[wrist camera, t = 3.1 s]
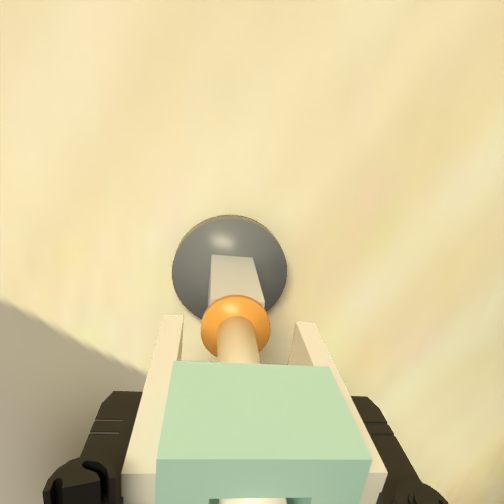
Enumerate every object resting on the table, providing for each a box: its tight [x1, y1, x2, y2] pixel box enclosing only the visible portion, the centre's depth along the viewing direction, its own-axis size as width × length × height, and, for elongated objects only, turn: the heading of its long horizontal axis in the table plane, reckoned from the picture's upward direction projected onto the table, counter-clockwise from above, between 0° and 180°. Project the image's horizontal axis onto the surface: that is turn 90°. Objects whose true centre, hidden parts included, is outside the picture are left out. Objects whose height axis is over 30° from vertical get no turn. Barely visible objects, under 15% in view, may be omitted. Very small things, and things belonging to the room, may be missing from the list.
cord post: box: [172, 215, 287, 504], centre depth 15 cm, size 7×7×16 cm
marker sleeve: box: [155, 361, 373, 504], centre depth 9 cm, size 4×4×3 cm
